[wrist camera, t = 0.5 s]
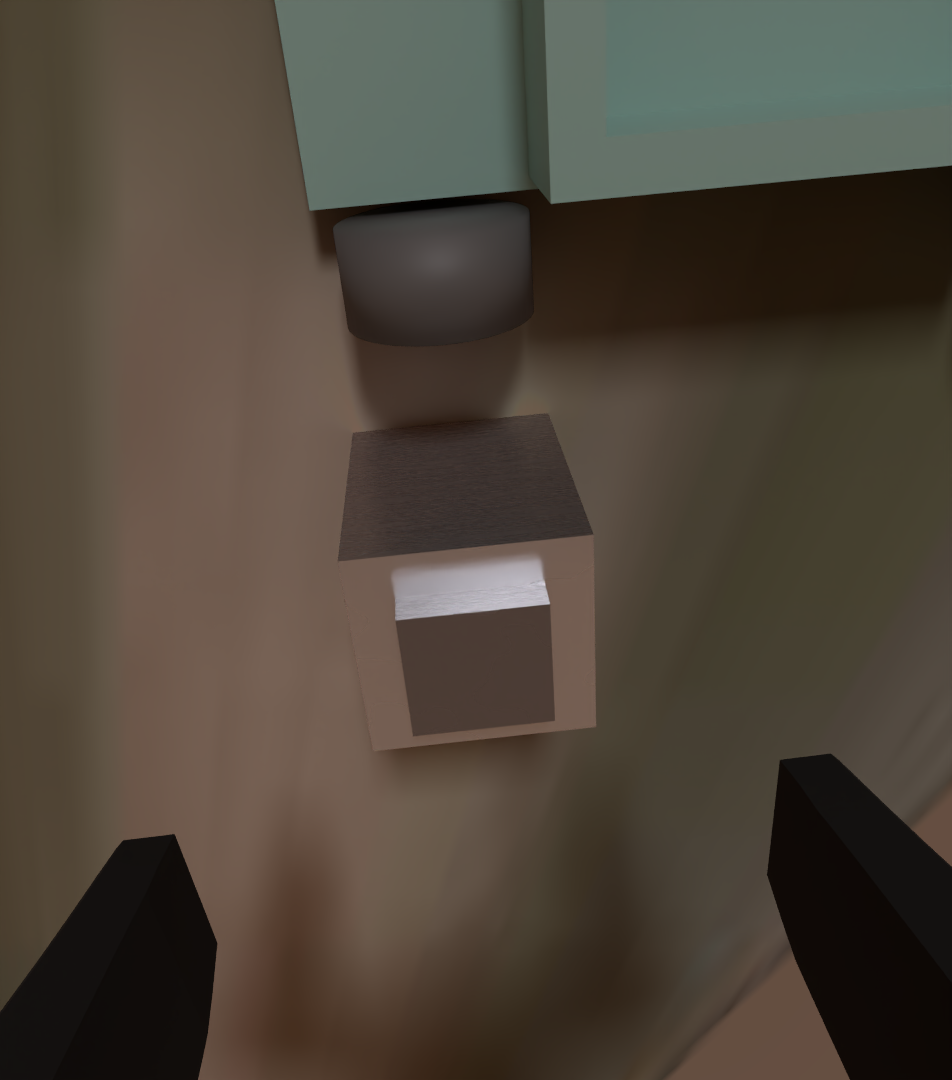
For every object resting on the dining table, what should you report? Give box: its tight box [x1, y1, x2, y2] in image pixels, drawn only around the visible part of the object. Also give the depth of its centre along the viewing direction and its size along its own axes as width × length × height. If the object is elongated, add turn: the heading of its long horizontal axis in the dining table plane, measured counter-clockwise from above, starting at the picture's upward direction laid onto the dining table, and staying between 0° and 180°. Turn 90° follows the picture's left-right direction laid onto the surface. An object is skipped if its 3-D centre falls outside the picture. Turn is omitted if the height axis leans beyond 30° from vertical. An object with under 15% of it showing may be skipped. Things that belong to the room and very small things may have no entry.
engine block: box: [338, 413, 596, 751], centre depth 17 cm, size 4×4×6 cm
